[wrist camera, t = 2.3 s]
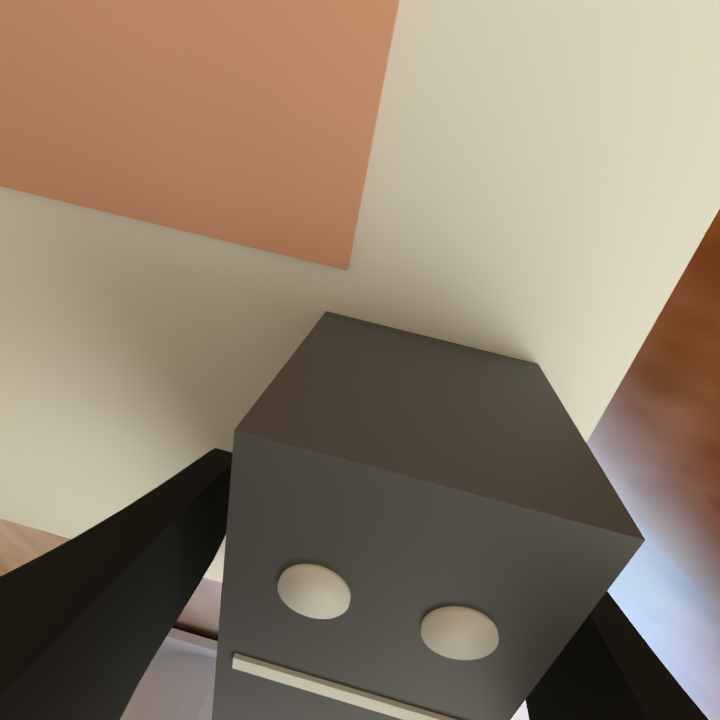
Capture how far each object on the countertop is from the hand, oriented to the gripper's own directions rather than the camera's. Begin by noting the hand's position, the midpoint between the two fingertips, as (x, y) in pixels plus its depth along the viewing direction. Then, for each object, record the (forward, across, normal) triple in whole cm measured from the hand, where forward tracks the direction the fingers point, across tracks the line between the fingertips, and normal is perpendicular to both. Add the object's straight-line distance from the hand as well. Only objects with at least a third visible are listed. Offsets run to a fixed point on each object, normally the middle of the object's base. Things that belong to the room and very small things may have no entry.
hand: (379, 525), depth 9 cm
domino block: (+1, 0, 0) cm, 1 cm away
